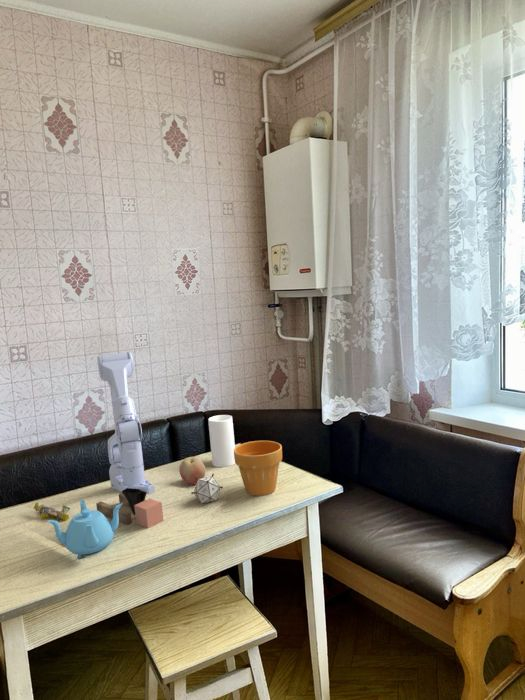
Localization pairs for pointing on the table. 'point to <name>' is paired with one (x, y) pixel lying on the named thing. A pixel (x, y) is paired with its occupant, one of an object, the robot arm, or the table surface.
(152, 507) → the block
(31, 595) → the table surface
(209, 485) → the game die
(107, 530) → the teapot
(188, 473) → the fruit
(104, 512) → the chute
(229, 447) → the white tall cylinder
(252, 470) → the flower pot
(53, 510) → the toy
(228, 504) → the table surface
